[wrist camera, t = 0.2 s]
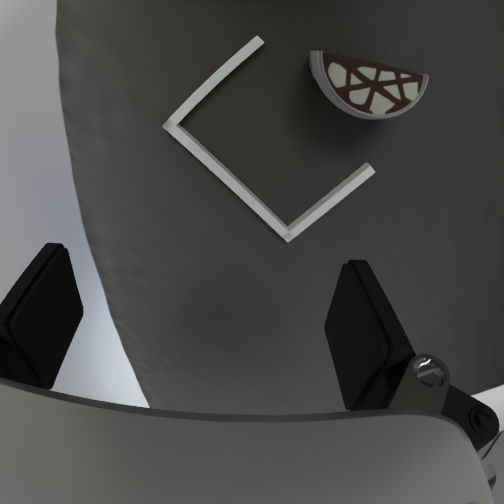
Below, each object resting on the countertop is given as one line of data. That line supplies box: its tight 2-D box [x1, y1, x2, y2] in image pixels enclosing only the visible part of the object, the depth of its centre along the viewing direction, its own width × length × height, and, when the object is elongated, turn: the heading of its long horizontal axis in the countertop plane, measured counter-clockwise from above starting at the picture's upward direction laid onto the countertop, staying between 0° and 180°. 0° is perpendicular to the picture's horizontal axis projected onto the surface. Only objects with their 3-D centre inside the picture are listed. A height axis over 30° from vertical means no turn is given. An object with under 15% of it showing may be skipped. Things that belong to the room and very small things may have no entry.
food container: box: [309, 51, 429, 120], centre depth 30 cm, size 12×6×10 cm, turn 87°
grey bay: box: [162, 36, 375, 243], centre depth 37 cm, size 15×22×2 cm
